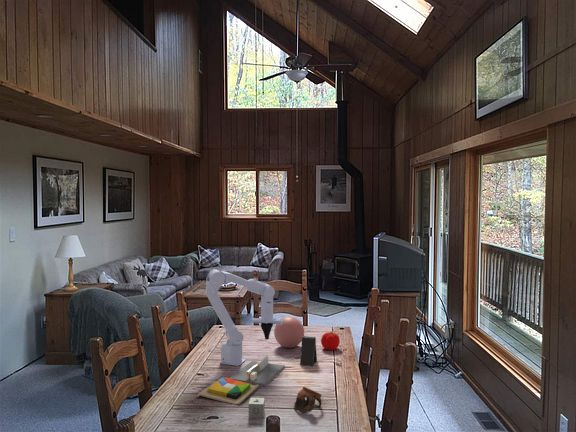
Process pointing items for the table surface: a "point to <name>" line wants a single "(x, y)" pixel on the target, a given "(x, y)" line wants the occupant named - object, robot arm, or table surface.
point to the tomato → (330, 341)
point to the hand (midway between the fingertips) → (267, 338)
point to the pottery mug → (306, 404)
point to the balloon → (289, 332)
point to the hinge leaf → (252, 370)
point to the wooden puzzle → (228, 390)
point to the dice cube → (256, 407)
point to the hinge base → (259, 372)
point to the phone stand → (308, 351)
